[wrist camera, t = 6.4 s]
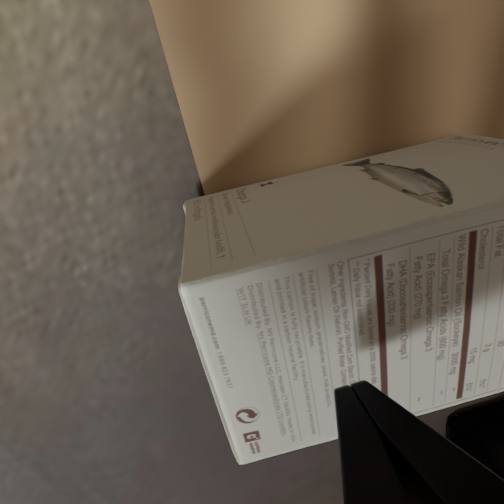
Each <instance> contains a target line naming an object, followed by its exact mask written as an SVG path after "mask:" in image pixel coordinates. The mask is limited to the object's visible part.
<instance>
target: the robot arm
mask: <svg viewBox="0 0 504 504" xmlns="http://www.w3.org/2000/svg"><path fill="white" fill-rule="evenodd" d="M334 398H335V409H336V420H337V431H338V442H339V453H340V464H341V475H342V486H343V497H344V504H504V402H502V403H498V404H495V405H492V406H488V407H485V408H482V409H479V410H475V411H472V412H469V413H465V414H462V415H459V416H455V417H452V418H450V419H449V420H448V421H447V423H446V438H445V437H444V436H443V435H441V434H440V433H438V432H437V431H436V430H434V429H433V428H431V427H430V426H429V425H427V424H426V423H425V422H423V421H422V420H420V419H419V418H418V417H416V416H415V415H413V414H412V413H411V412H409V411H408V410H407V409H405V408H404V407H402V406H401V405H400V404H398V403H397V402H395V401H394V400H393V399H391V398H390V397H389V396H387V395H386V394H384V393H383V392H382V391H380V390H379V389H377V388H376V387H375V386H373V385H372V384H371V383H369V382H368V381H365V380H362V381H358V382H355V383H352V384H351V385H350V386H349V385H345V386H341V387H338V388H335V389H334Z"/></svg>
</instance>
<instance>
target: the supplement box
mask: <svg viewBox="0 0 504 504" xmlns="http://www.w3.org/2000/svg"><path fill="white" fill-rule="evenodd" d="M183 208H184V212H185V215H186V216H185V236H184V251H183V262H182V271H181V273H180V275H179V281H178V290H179V294H180V297H181V300H182V303H183V306H184V309H185V313H186V316H187V319H188V322H189V325H190V328H191V331H192V334H193V337H194V340H195V343H196V346H197V349H198V352H199V355H200V358H201V361H202V364H203V367H204V370H205V373H206V376H207V379H208V382H209V385H210V388H211V391H212V394H213V396H214V399H215V402H216V405H217V408H218V411H219V414H220V417H221V420H222V423H223V426H224V428H225V431H226V434H227V437H228V440H229V442H230V445H231V448H232V451H233V454H234V456H235V458H236V460H237V462H238V463H239V465H243V464H247V463H251V462H254V461H258V460H261V459H265V458H268V457H272V456H275V455H279V454H283V453H286V452H290V451H294V450H297V449H301V448H304V447H308V446H312V445H316V444H320V443H324V442H328V441H331V440H335V439H338V431H337V420H336V409H335V398H334V389H335V388H338V387H341V386H345V385H349V386H350V385H351V384H352V383H355V382H358V381H362V380H365V381H368V382H369V383H371V384H372V385H373V386H375V387H376V388H377V389H379V390H380V391H382V392H383V393H384V394H386V395H387V396H389V397H390V398H391V399H393V400H394V401H395V402H397V403H398V404H400V405H401V406H402V407H404V408H405V409H407V410H408V411H409V412H411V413H412V414H413V415H415V416H419V415H423V414H426V413H429V412H433V411H437V410H440V409H443V408H447V407H451V406H454V405H458V404H461V403H464V402H468V401H471V400H474V399H478V398H481V397H485V396H489V395H492V394H496V393H499V392H503V391H504V139H498V138H492V137H485V136H477V135H469V134H459V135H456V136H452V137H448V138H444V139H439V140H435V141H431V142H427V143H423V144H419V145H415V146H410V147H406V148H402V149H398V150H394V151H390V152H386V153H381V154H377V155H373V156H369V157H364V158H360V159H356V160H352V161H348V162H343V163H339V164H335V165H330V166H326V167H322V168H318V169H313V170H309V171H305V172H301V173H297V174H293V175H288V176H284V177H280V178H276V179H272V180H268V181H264V182H259V183H254V184H251V185H246V186H242V187H238V188H234V189H229V190H225V191H221V192H217V193H213V194H209V195H205V196H201V197H197V198H193V199H189V200H186V201H185V203H184V204H183Z"/></svg>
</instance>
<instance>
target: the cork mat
mask: <svg viewBox="0 0 504 504" xmlns="http://www.w3.org/2000/svg"><path fill="white" fill-rule="evenodd" d="M149 1H150V4H151V8H152V11H153V15H154V18H155V22H156V25H157V29H158V32H159V36H160V39H161V43H162V47H163V50H164V54H165V57H166V61H167V64H168V68H169V71H170V75H171V78H172V82H173V85H174V89H175V92H176V96H177V99H178V103H179V106H180V110H181V113H182V117H183V120H184V124H185V128H186V131H187V135H188V138H189V142H190V145H191V149H192V152H193V156H194V159H195V163H196V166H197V170H198V173H199V177H200V180H201V184H202V187H203V191H204V194H205V195H209V194H213V193H217V192H221V191H225V190H229V189H234V188H238V187H242V186H246V185H251V184H254V183H259V182H264V181H268V180H272V179H276V178H280V177H284V176H288V175H293V174H297V173H301V172H305V171H309V170H313V169H318V168H322V167H326V166H330V165H335V164H339V163H343V162H348V161H352V160H356V159H360V158H364V157H369V156H373V155H377V154H381V153H386V152H390V151H394V150H398V149H402V148H406V147H410V146H415V145H419V144H423V143H427V142H431V141H435V140H439V139H444V138H448V137H452V136H456V135H459V134H469V135H477V136H485V137H492V138H498V139H504V0H149Z"/></svg>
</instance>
